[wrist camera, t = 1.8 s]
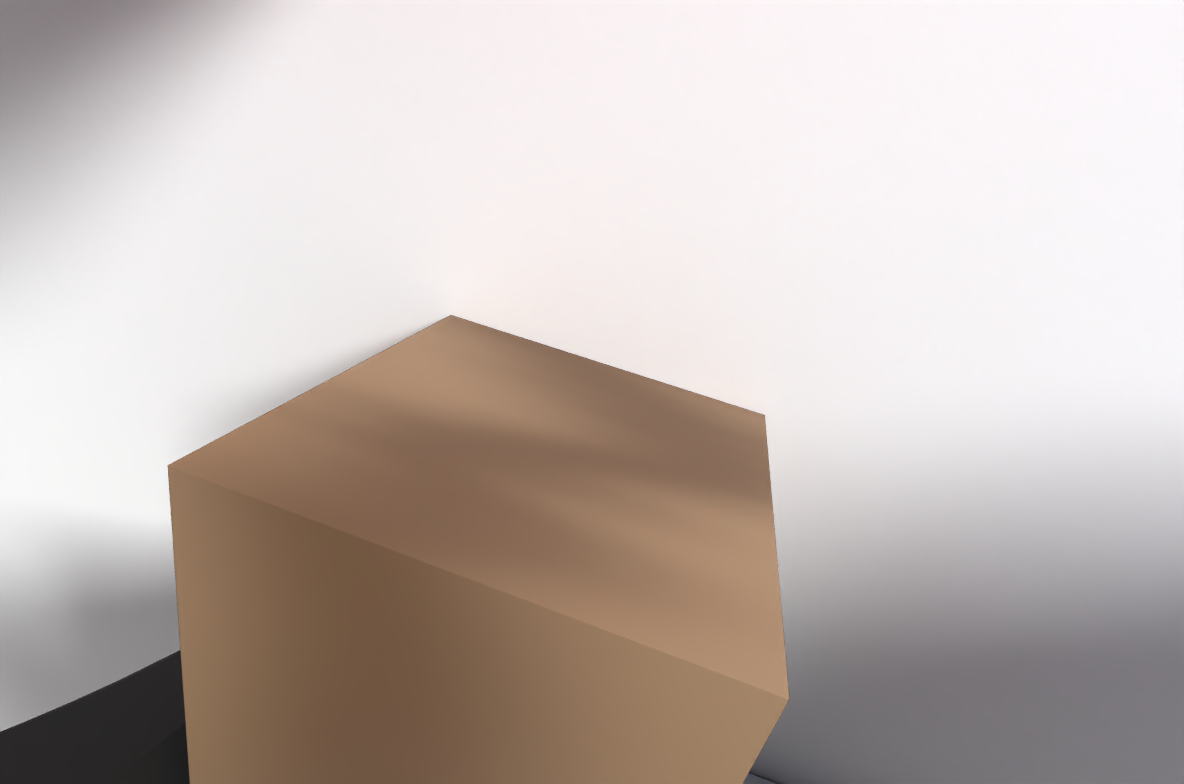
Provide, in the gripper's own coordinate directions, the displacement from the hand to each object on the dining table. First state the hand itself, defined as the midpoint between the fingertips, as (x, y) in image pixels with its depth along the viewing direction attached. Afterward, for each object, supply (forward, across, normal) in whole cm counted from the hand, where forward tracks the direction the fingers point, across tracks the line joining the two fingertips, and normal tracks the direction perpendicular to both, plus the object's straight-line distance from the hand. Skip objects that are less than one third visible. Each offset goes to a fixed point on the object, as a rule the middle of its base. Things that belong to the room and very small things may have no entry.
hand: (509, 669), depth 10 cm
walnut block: (+1, 0, -3) cm, 3 cm away
